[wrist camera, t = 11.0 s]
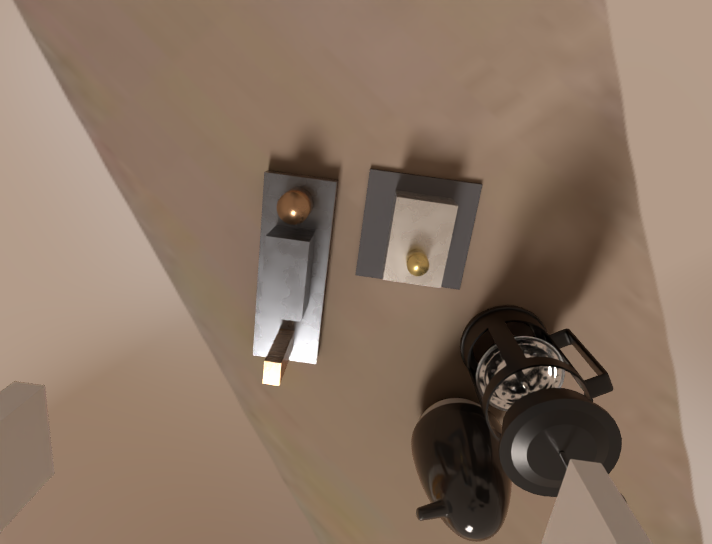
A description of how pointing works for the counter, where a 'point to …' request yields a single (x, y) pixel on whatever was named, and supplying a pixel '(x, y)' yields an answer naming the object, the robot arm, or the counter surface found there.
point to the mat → (381, 210)
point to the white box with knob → (419, 238)
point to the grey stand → (292, 269)
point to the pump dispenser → (461, 469)
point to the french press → (539, 400)
